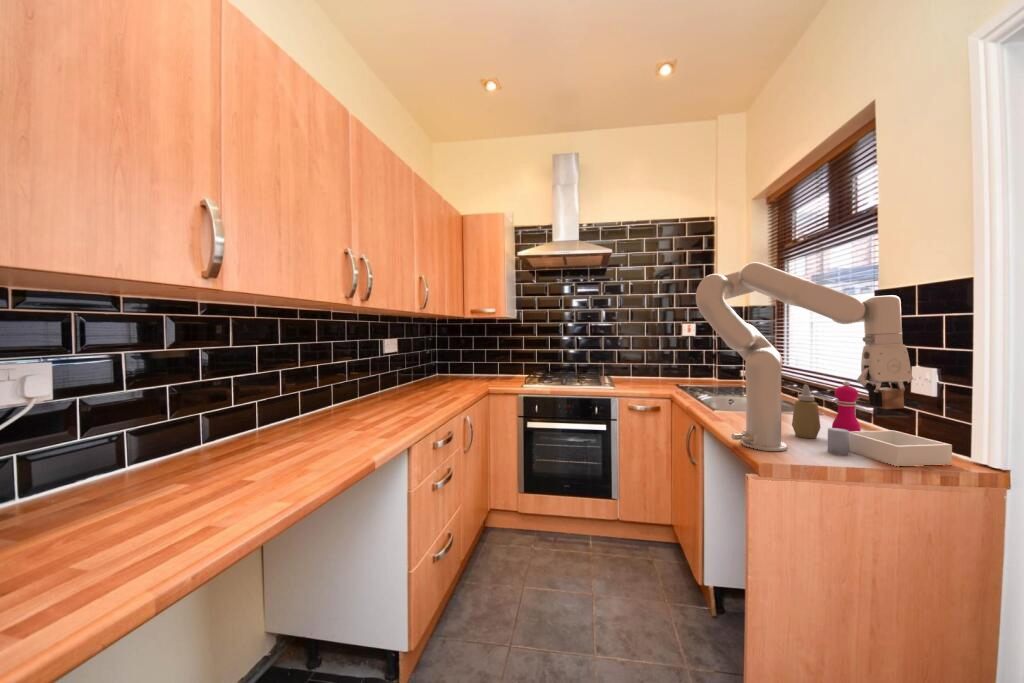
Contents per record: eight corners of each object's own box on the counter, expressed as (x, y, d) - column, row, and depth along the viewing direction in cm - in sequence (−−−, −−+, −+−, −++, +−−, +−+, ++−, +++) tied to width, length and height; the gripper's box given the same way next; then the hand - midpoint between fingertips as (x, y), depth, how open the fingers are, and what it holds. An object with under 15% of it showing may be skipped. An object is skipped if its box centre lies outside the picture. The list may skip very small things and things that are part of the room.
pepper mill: (826, 439, 132) (827, 380, 131) (841, 437, 134) (842, 379, 133) (850, 445, 125) (851, 383, 124) (866, 443, 127) (866, 382, 126)
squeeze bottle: (826, 438, 133) (826, 386, 133) (809, 440, 131) (809, 387, 130) (802, 432, 141) (803, 383, 140) (786, 434, 139) (786, 384, 138)
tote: (897, 467, 105) (897, 446, 105) (845, 449, 121) (845, 431, 121) (951, 465, 106) (952, 444, 106) (892, 447, 122) (892, 430, 121)
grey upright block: (837, 456, 115) (837, 432, 115) (823, 450, 120) (823, 428, 120) (853, 455, 115) (854, 432, 115) (838, 450, 120) (838, 427, 120)
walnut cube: (885, 409, 106) (885, 390, 105) (868, 405, 111) (868, 388, 110) (904, 408, 106) (903, 389, 106) (886, 405, 111) (885, 387, 111)
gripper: (865, 342, 104) (868, 409, 104) (928, 339, 104) (930, 406, 104) (841, 341, 112) (844, 405, 112) (899, 339, 112) (902, 402, 112)
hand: (885, 405), depth 108 cm, fingers closed on walnut cube, 5 cm apart
